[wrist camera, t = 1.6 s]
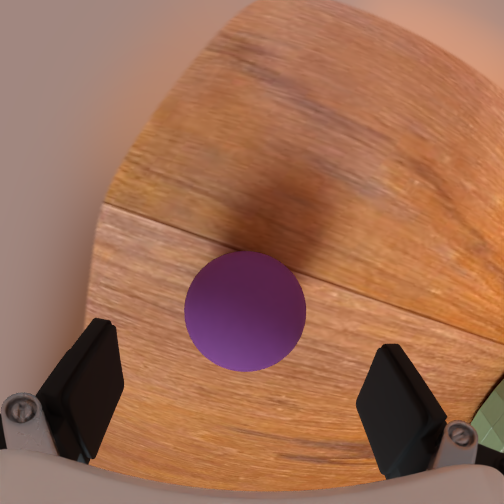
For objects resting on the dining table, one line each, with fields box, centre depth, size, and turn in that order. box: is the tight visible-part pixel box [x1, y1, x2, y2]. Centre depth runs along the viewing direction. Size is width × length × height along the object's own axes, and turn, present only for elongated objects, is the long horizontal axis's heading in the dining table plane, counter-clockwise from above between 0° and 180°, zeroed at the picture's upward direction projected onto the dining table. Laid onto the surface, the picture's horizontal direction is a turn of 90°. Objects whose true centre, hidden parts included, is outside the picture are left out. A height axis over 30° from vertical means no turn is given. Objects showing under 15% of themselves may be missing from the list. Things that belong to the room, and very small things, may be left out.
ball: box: [184, 251, 306, 372], centre depth 13 cm, size 5×5×5 cm
